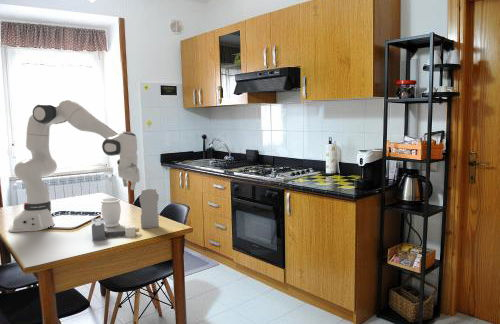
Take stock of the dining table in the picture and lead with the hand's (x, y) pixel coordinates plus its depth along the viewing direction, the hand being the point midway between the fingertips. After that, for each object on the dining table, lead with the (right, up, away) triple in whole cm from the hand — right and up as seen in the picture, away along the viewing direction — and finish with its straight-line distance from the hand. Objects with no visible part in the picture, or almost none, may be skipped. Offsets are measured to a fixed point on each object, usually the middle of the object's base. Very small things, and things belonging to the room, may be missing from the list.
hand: (129, 188), depth 209 cm
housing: (-14, -25, -6) cm, 29 cm away
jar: (-14, -23, +15) cm, 31 cm away
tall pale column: (+9, -23, +11) cm, 27 cm away
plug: (-3, -25, -4) cm, 25 cm away
